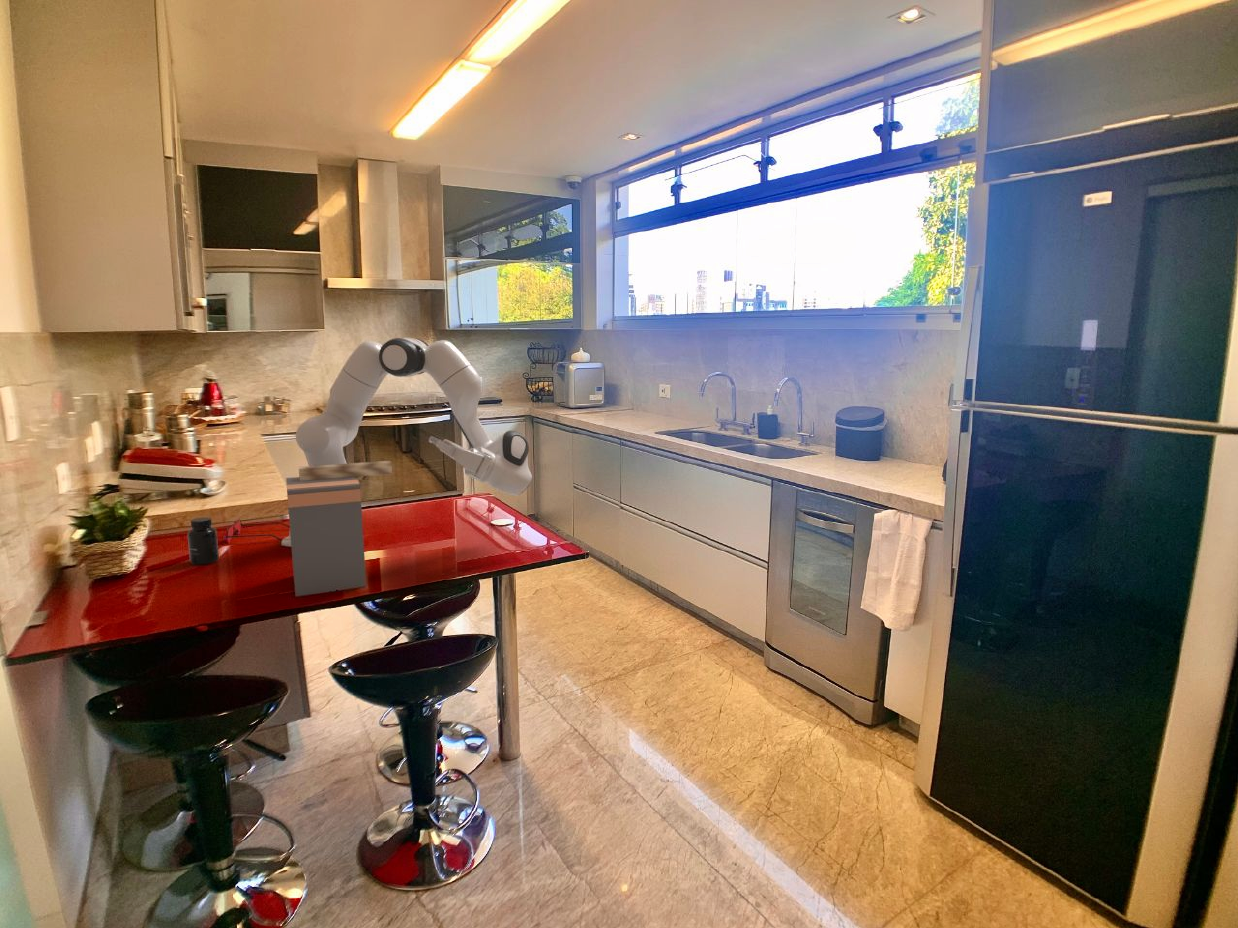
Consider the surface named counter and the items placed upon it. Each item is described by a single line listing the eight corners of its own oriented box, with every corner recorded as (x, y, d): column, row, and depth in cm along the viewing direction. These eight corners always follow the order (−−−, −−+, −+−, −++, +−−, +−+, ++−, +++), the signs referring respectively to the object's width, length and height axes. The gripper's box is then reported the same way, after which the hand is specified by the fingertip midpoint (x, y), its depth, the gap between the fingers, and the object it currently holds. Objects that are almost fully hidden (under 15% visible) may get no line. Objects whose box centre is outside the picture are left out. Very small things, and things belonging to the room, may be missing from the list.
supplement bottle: (186, 566, 182) (181, 523, 180) (195, 558, 188) (190, 516, 186) (215, 564, 184) (210, 521, 182) (222, 556, 190) (218, 515, 188)
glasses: (238, 532, 215) (237, 517, 214) (294, 529, 218) (293, 514, 217) (223, 545, 201) (222, 529, 200) (284, 542, 205) (282, 526, 204)
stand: (359, 567, 183) (353, 472, 178) (366, 586, 169) (360, 484, 164) (293, 575, 176) (285, 477, 171) (295, 596, 162) (286, 490, 157)
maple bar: (390, 471, 180) (389, 460, 180) (392, 473, 178) (391, 462, 177) (299, 478, 171) (298, 466, 170) (299, 480, 168) (298, 468, 168)
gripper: (473, 447, 199) (431, 426, 192) (493, 458, 181) (447, 435, 174) (463, 466, 198) (420, 446, 192) (482, 479, 180) (435, 457, 174)
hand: (433, 441), depth 183 cm, fingers open, 8 cm apart
